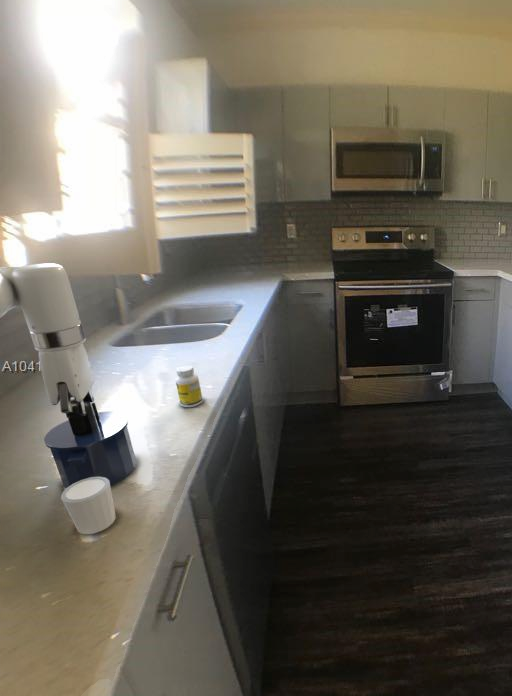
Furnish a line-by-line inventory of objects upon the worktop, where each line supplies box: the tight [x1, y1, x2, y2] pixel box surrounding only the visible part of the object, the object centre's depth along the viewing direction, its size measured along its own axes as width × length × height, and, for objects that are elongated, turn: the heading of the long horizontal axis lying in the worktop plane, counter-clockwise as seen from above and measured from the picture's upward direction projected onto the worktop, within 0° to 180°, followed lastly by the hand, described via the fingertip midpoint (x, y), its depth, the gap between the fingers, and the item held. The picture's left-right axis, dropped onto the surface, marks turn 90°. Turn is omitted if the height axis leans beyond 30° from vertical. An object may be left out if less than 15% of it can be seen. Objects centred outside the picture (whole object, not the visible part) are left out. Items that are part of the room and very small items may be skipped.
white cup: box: [60, 477, 116, 535], centre depth 76 cm, size 7×7×7 cm
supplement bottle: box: [175, 365, 204, 408], centre depth 117 cm, size 5×5×10 cm
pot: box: [50, 426, 137, 490], centre depth 89 cm, size 13×18×10 cm
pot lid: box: [43, 401, 129, 451], centre depth 86 cm, size 14×14×6 cm
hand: (87, 427), depth 87 cm, fingers closed on pot lid, 3 cm apart
